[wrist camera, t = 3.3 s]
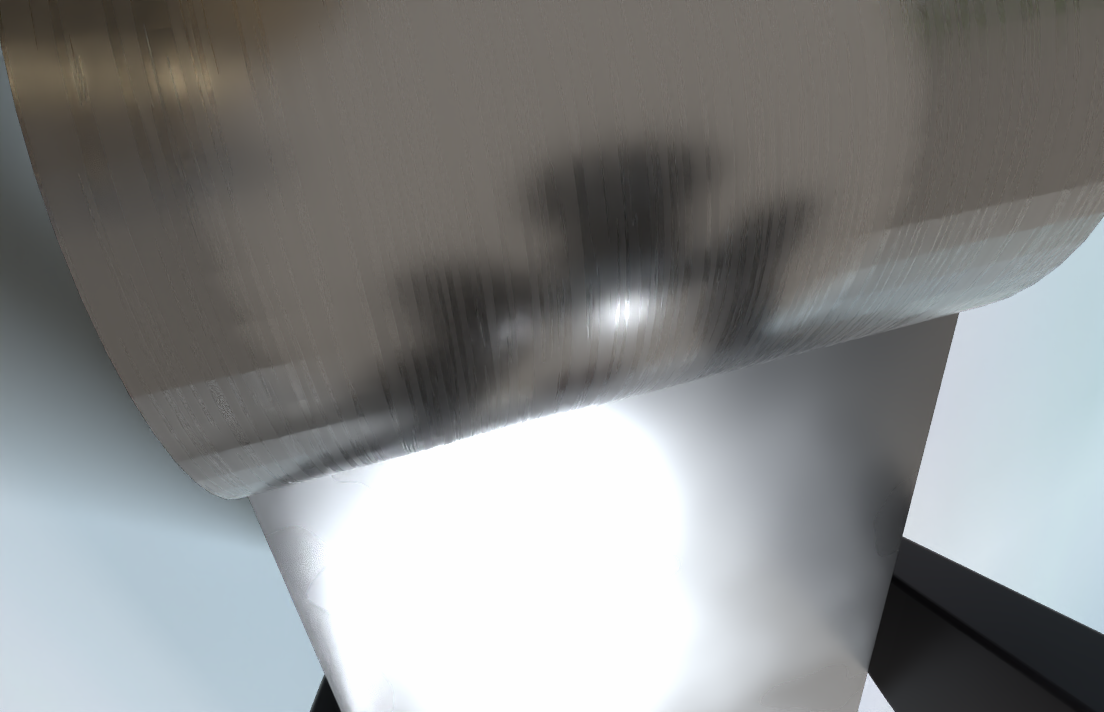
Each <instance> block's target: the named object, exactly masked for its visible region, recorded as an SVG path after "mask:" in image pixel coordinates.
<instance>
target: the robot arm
mask: <svg viewBox="0 0 1104 712" xmlns="http://www.w3.org/2000/svg"><path fill="white" fill-rule="evenodd" d="M868 673H869V675H870V676H871V678H872V679H873V681H874V682H875V684H876V685H877V687H878V688H879V690H880V691H881V693H882V694H883V696H884V697H885V698H886V700H887V701H888V703H889V704H890V705H891V707H892V708H893V710H894V711H895V712H1104V634H1102V633H1100V632H1098V631H1096V630H1094V629H1092V628H1090V627H1088V626H1086V625H1084V624H1081V623H1079V622H1077V621H1075V620H1073V619H1071V618H1069V617H1067V616H1065V615H1063V614H1061V613H1059V612H1057V611H1055V610H1053V609H1051V608H1049V607H1047V606H1045V605H1042V604H1040V603H1038V602H1036V601H1034V600H1032V599H1030V598H1028V597H1026V596H1024V595H1022V594H1020V593H1018V592H1016V591H1014V590H1012V589H1010V588H1008V587H1006V586H1003V585H1001V584H999V583H997V582H995V581H993V580H991V579H989V578H987V577H985V576H983V575H981V574H979V573H977V572H975V571H973V570H971V569H969V568H967V567H964V566H962V565H960V564H958V563H956V562H954V561H952V560H950V559H948V558H946V557H944V556H942V555H940V554H938V553H936V552H934V551H932V550H930V549H927V548H925V547H923V546H921V545H919V544H917V543H915V542H913V541H911V540H909V539H907V538H905V537H903V536H902V539H901V543H900V547H899V551H898V555H897V559H896V563H895V566H894V570H893V574H892V578H891V582H890V586H889V590H888V594H887V597H886V601H885V605H884V609H883V613H882V617H881V621H880V625H879V629H878V633H877V637H876V641H875V645H874V649H873V653H872V657H871V660H870V664H869V668H868ZM310 712H341V710H340V708H339V705H338V703H337V701H336V699H335V696H334V694H333V692H332V689H331V687H330V685H329V682H328V680H327V678H326V676H325V675H324V677H323V679H322V681H321V684H320V686H319V689H318V692H317V694H316V697H315V699H314V702H313V705H312V707H311V710H310Z"/></svg>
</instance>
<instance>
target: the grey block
mask: <svg viewBox="0 0 1104 712" xmlns="http://www.w3.org/2000/svg"><path fill="white" fill-rule="evenodd" d="M0 41H1V47H2V52H3V56H4V61H5V65H6V69H7V74H8V78H9V82H10V87H11V91H12V95H13V100H14V104H15V108H16V112H17V116H18V119H19V123H20V126H21V129H22V133H23V136H24V140H25V143H26V147H27V150H28V154H29V157H30V160H31V164H32V167H33V171H34V174H35V177H36V180H37V183H38V186H39V189H40V192H41V195H42V197H43V200H44V203H45V206H46V209H47V212H48V215H49V218H50V220H51V223H52V226H53V229H54V232H55V235H56V238H57V240H58V243H59V245H60V248H61V250H62V253H63V255H64V258H65V260H66V263H67V265H68V267H69V270H70V272H71V275H72V277H73V280H74V282H75V285H76V287H77V290H78V292H79V295H80V297H81V299H82V302H83V304H84V306H85V308H86V310H87V312H88V314H89V316H90V319H91V321H92V323H93V325H94V327H95V329H96V331H97V334H98V336H99V338H100V340H101V342H102V344H103V346H104V348H105V351H106V353H107V355H108V356H109V358H110V360H111V362H112V364H113V366H114V367H115V369H116V371H117V373H118V375H119V377H120V378H121V380H122V382H123V384H124V386H125V388H126V389H127V391H128V393H129V395H130V397H131V399H132V400H133V402H134V403H135V405H136V406H137V408H138V410H139V411H140V413H141V414H142V416H143V417H144V419H145V420H146V422H147V424H148V425H149V427H150V428H151V430H152V431H153V433H154V435H155V436H156V437H157V439H158V440H159V441H160V442H161V444H162V445H163V446H164V448H165V449H166V450H167V452H168V453H169V454H170V455H171V457H172V458H173V459H174V461H175V462H176V463H177V464H178V465H179V466H180V467H181V468H182V469H183V470H184V471H185V472H186V473H187V474H188V475H189V476H190V477H191V478H192V479H193V480H194V481H195V482H196V483H197V484H198V485H200V486H201V487H203V488H204V489H205V490H207V491H208V492H210V493H211V494H213V495H216V496H218V497H221V498H224V499H239V498H243V497H247V496H248V498H249V501H250V503H251V505H252V508H253V510H254V512H255V514H256V517H257V519H258V521H259V524H260V526H261V528H262V531H263V533H264V535H265V538H266V540H267V542H268V544H269V547H270V549H271V551H272V554H273V556H274V558H275V561H276V563H277V565H278V567H279V570H280V572H281V574H282V577H283V579H284V581H285V584H286V586H287V588H288V590H289V593H290V595H291V597H292V600H293V602H294V604H295V607H296V609H297V611H298V613H299V616H300V618H301V620H302V623H303V625H304V627H305V630H306V632H307V634H308V636H309V639H310V641H311V643H312V646H313V648H314V650H315V653H316V655H317V657H318V659H319V662H320V664H321V666H322V669H323V671H324V673H325V676H326V678H327V680H328V682H329V685H330V687H331V689H332V692H333V694H334V696H335V699H336V701H337V703H338V705H339V708H340V710H341V712H858V708H859V704H860V700H861V696H862V692H863V688H864V684H865V680H866V677H867V673H868V668H869V664H870V660H871V657H872V653H873V649H874V645H875V641H876V637H877V633H878V629H879V625H880V621H881V617H882V613H883V609H884V605H885V601H886V597H887V594H888V590H889V586H890V582H891V578H892V574H893V570H894V566H895V563H896V559H897V555H898V551H899V547H900V543H901V539H902V535H903V531H904V527H905V523H906V519H907V515H908V511H909V508H910V504H911V500H912V496H913V492H914V488H915V484H916V480H917V476H918V472H919V468H920V464H921V460H922V456H923V452H924V449H925V445H926V441H927V437H928V433H929V429H930V425H931V421H932V417H933V413H934V409H935V405H936V401H937V397H938V394H939V390H940V386H941V382H942V378H943V374H944V370H945V366H946V362H947V358H948V354H949V350H950V346H951V342H952V338H953V335H954V331H955V327H956V323H957V319H958V315H959V312H963V311H967V310H970V309H974V308H978V307H982V306H985V305H988V304H991V303H994V302H997V301H1000V300H1003V299H1006V298H1009V297H1011V296H1013V295H1014V294H1016V293H1018V292H1020V291H1022V290H1024V289H1026V288H1028V287H1030V286H1032V285H1033V284H1035V283H1036V282H1038V281H1039V280H1040V279H1042V278H1043V277H1045V276H1046V275H1047V274H1049V273H1050V272H1051V271H1053V270H1054V269H1055V268H1057V267H1058V266H1060V265H1061V264H1062V263H1063V262H1064V261H1065V260H1066V259H1067V258H1068V257H1069V256H1070V255H1071V254H1072V253H1073V252H1074V251H1075V250H1076V249H1077V248H1078V247H1079V246H1080V245H1081V244H1082V243H1083V242H1084V241H1085V240H1086V239H1087V237H1088V236H1089V235H1090V233H1091V232H1092V231H1093V230H1094V228H1095V227H1096V226H1097V224H1098V223H1099V222H1100V221H1101V219H1102V218H1103V217H1104V0H0Z"/></svg>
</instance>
